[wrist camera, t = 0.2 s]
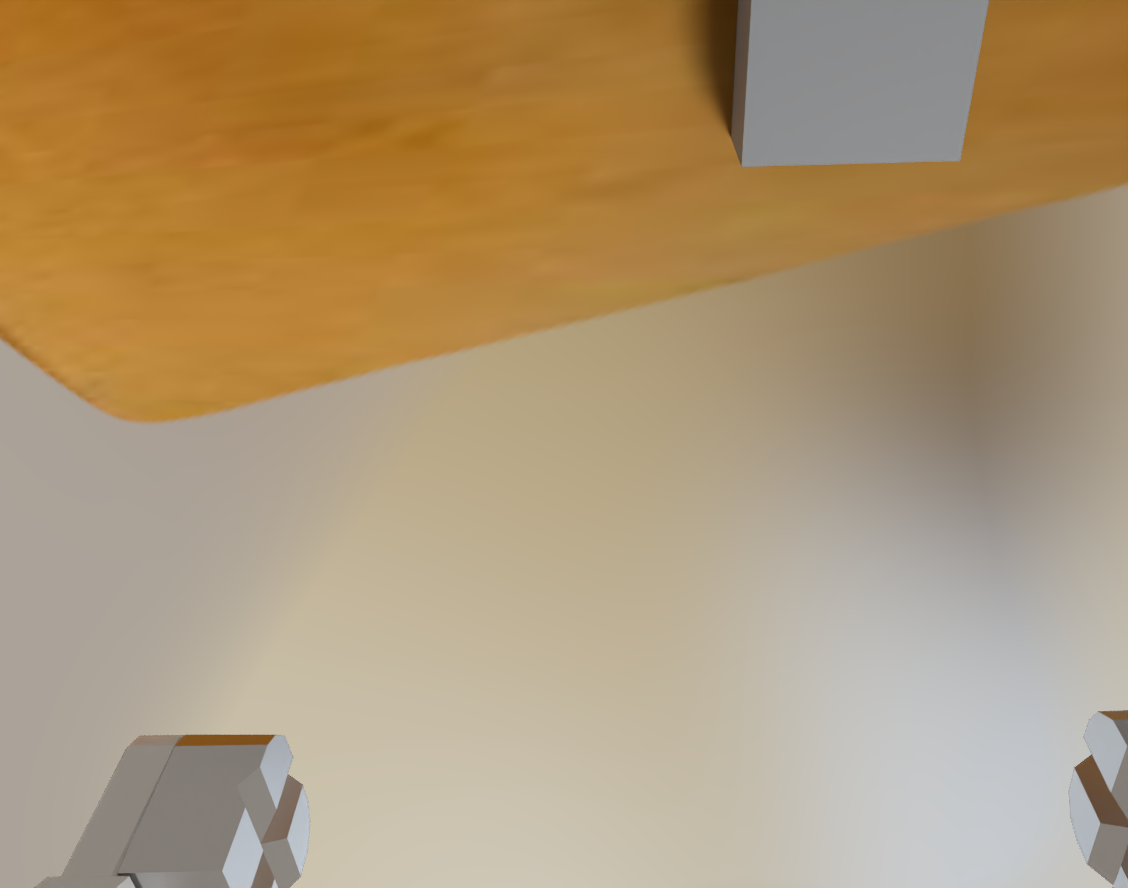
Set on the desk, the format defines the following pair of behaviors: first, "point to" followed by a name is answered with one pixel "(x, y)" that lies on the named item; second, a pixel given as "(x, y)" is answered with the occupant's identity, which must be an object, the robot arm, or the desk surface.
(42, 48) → the desk surface
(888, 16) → the gray riser
